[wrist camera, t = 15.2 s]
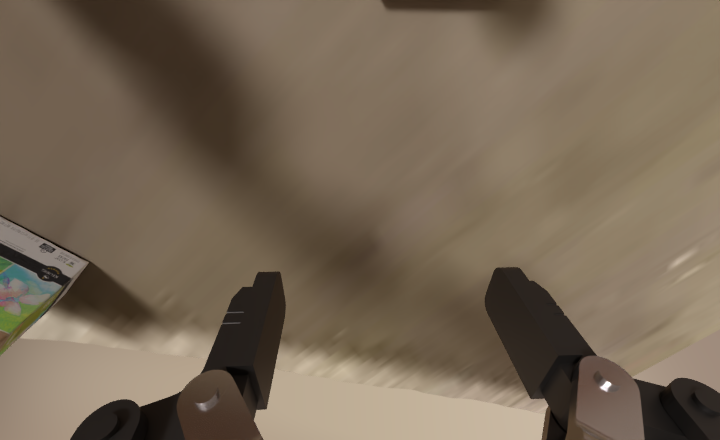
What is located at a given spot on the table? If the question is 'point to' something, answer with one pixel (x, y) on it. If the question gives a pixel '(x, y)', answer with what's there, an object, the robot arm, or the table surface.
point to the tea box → (30, 279)
